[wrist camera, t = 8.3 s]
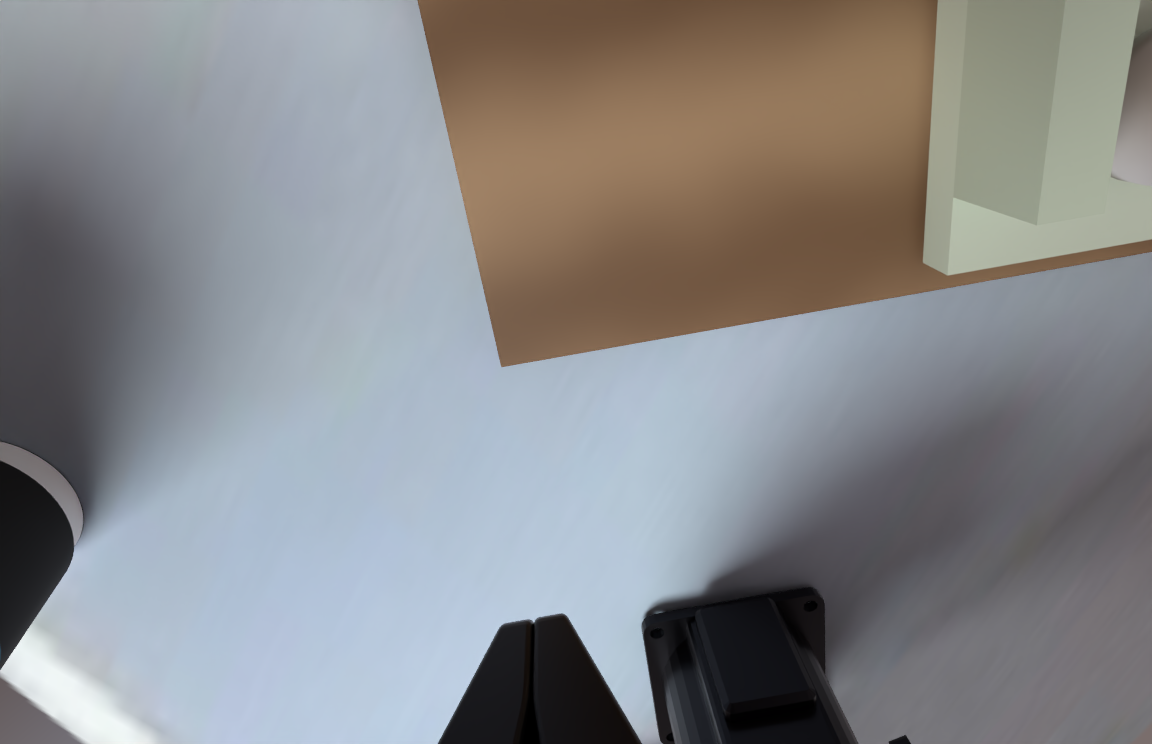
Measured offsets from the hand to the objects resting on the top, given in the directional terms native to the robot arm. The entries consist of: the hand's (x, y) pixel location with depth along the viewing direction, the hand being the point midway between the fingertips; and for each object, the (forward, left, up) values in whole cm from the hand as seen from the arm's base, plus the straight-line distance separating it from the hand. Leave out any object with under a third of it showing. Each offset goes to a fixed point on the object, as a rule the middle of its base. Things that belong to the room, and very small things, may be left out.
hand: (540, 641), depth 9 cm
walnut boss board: (+7, -12, -12) cm, 18 cm away
